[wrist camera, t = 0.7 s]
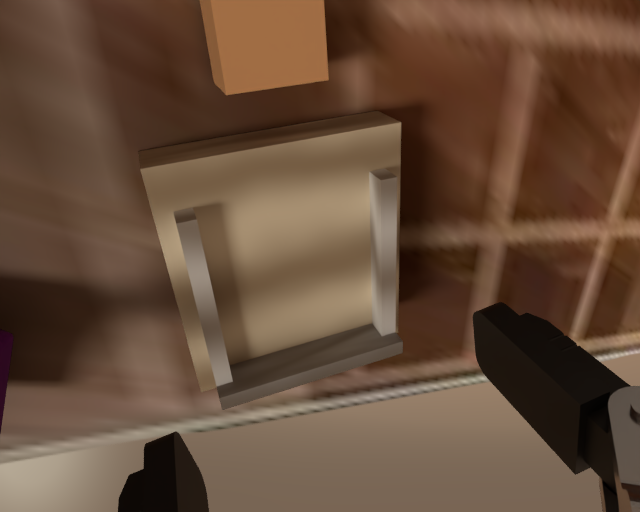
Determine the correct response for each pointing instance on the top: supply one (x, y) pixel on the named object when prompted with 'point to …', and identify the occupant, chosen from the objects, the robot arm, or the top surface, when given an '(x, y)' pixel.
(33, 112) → the top surface
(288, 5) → the orange box with handle
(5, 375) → the perfume bottle
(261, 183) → the dock
